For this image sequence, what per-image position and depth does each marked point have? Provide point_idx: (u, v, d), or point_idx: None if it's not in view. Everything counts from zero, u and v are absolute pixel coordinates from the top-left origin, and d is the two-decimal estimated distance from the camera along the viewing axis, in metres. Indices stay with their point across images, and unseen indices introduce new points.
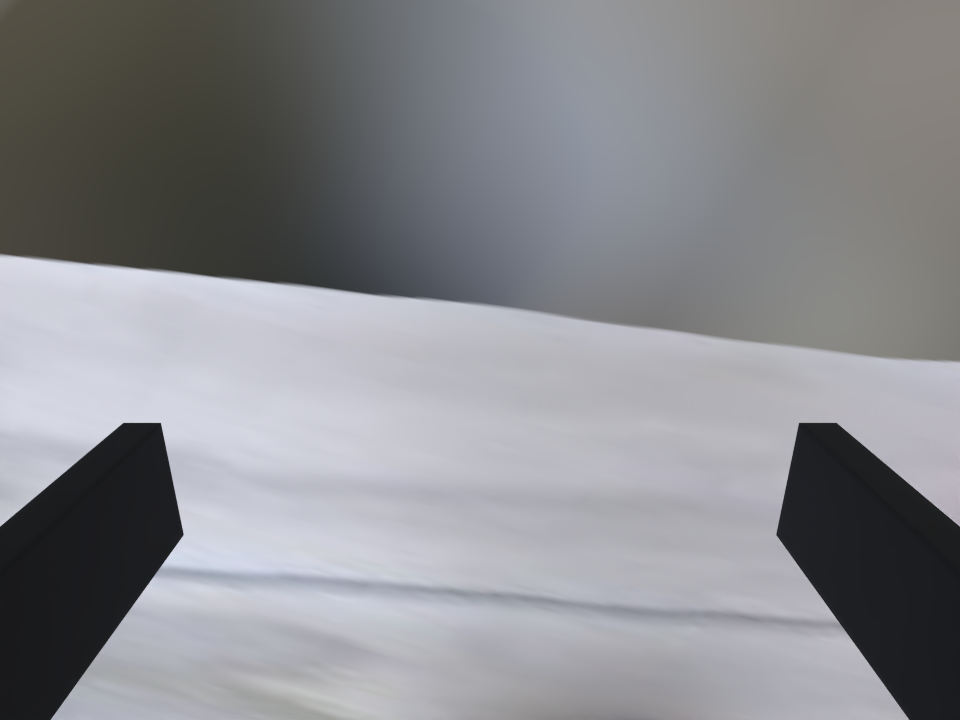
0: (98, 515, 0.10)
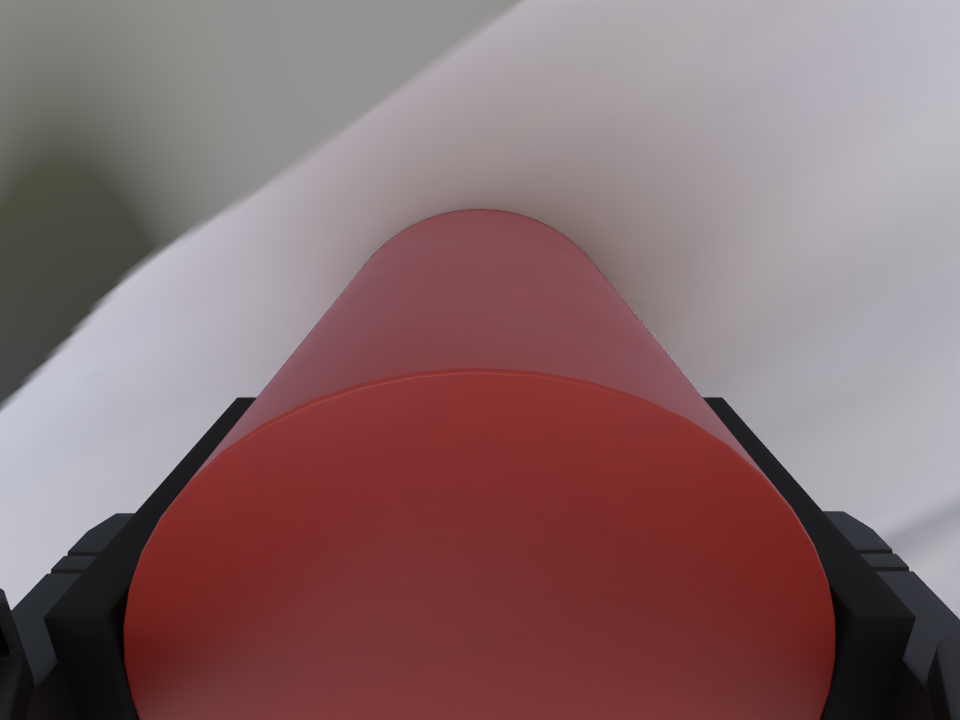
0: None
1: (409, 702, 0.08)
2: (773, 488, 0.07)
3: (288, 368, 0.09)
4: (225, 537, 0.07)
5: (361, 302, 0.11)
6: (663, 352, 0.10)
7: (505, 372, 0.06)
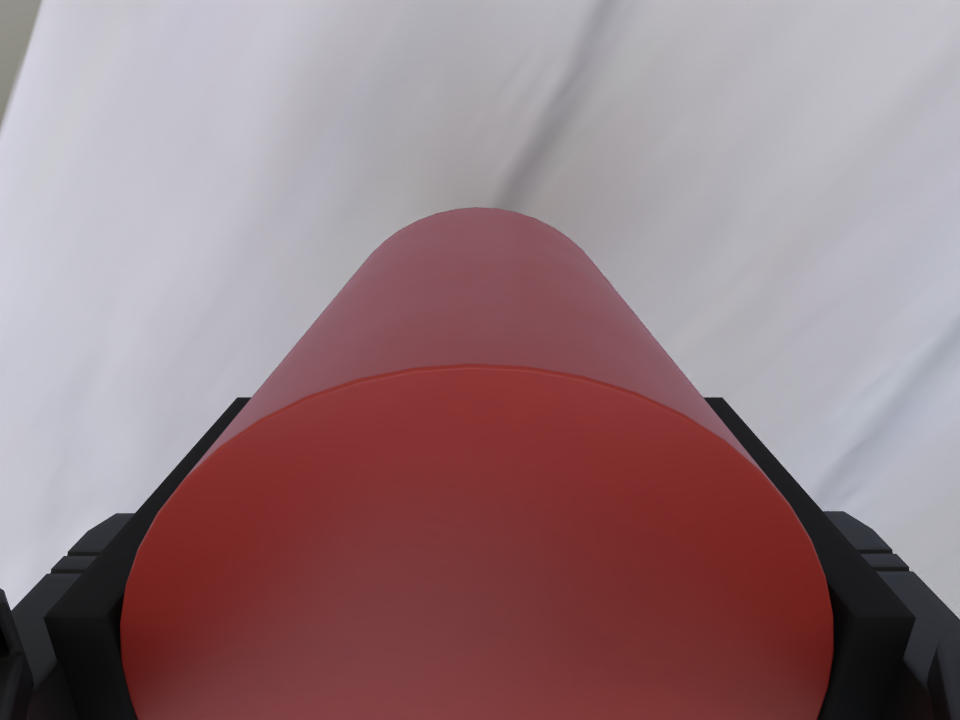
0: None
1: (406, 700, 0.08)
2: (770, 484, 0.07)
3: (285, 365, 0.09)
4: (221, 533, 0.07)
5: (359, 299, 0.11)
6: (661, 349, 0.10)
7: (502, 367, 0.06)
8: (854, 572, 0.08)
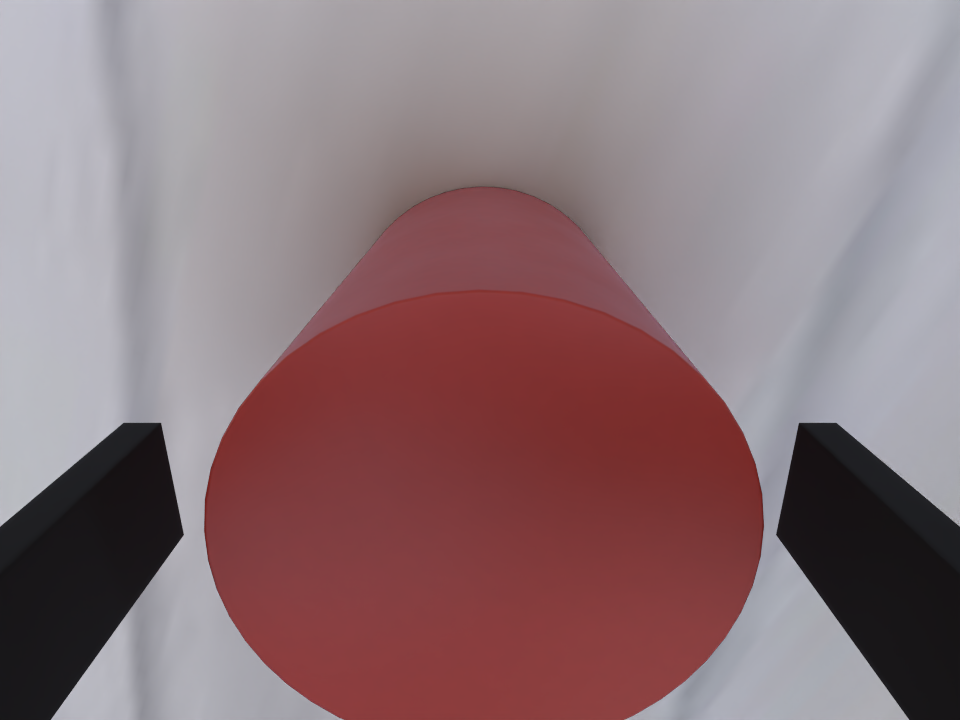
0: (98, 515, 0.10)
1: (427, 565, 0.10)
2: (709, 386, 0.09)
3: (328, 305, 0.11)
4: (287, 425, 0.09)
5: (384, 257, 0.13)
6: (636, 298, 0.13)
7: (503, 292, 0.09)
8: None
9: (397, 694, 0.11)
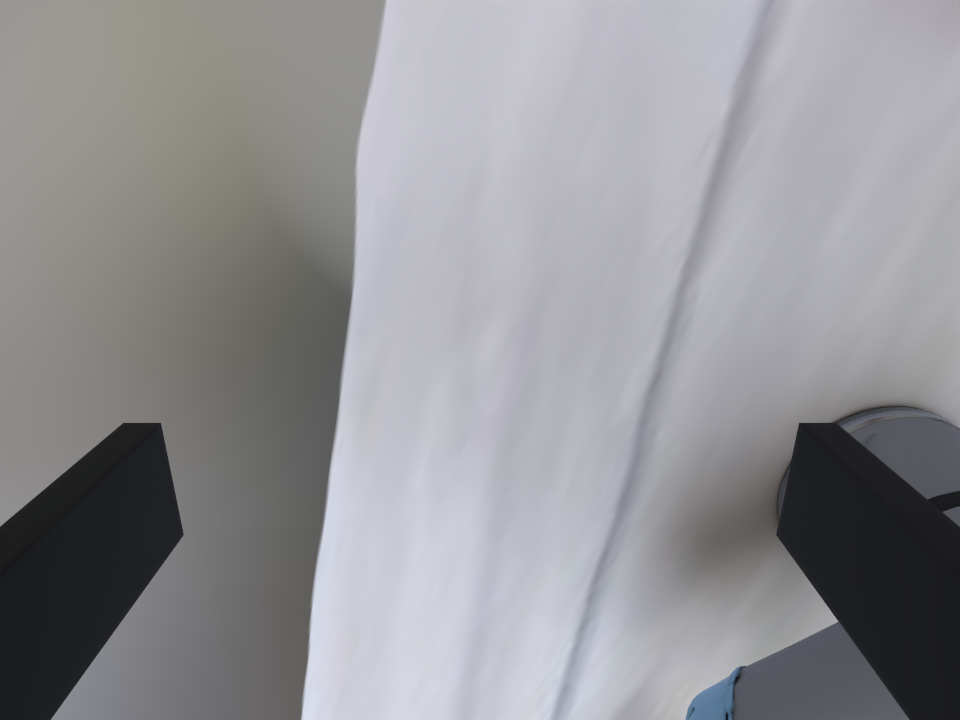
0: (98, 515, 0.10)
1: None
2: None
3: None
4: None
5: None
6: None
7: None
8: None
9: None
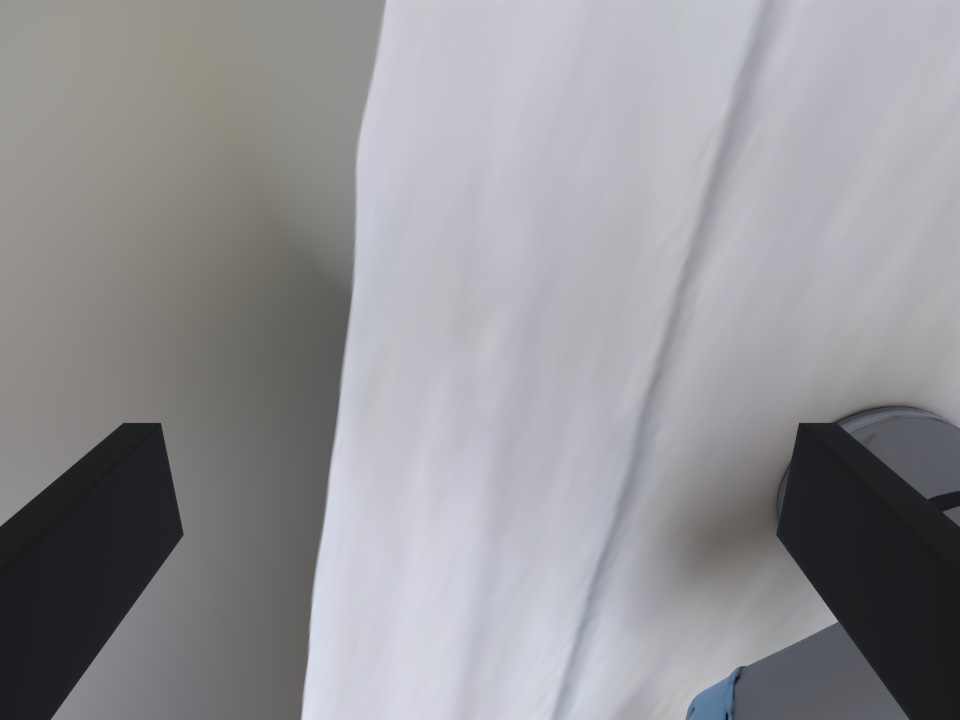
0: (98, 515, 0.10)
1: None
2: None
3: None
4: None
5: None
6: None
7: None
8: None
9: None
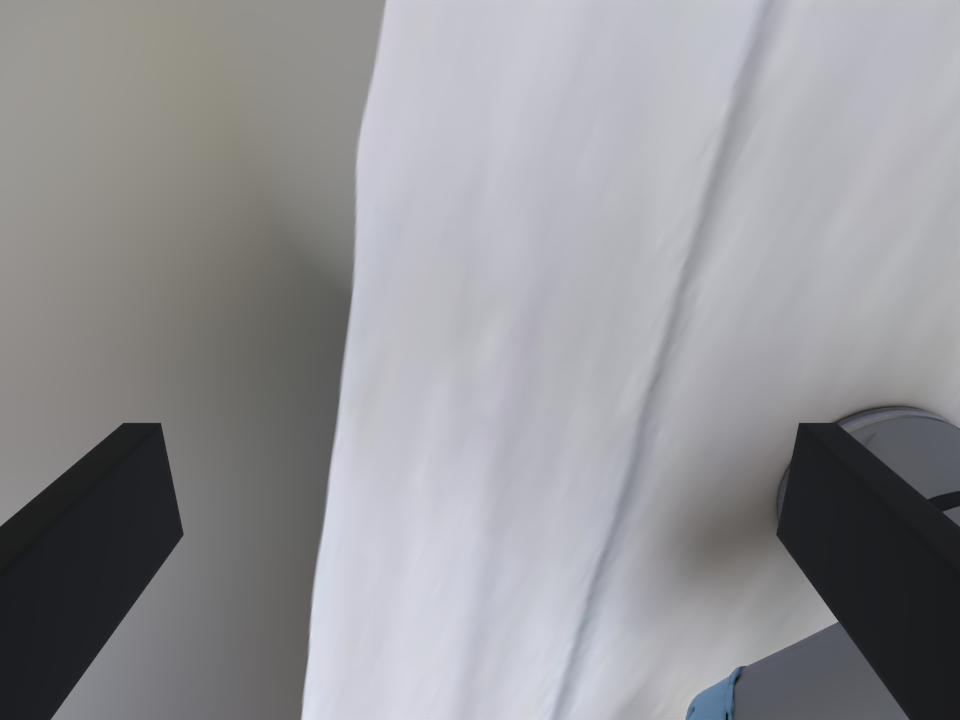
0: (98, 515, 0.10)
1: None
2: None
3: None
4: None
5: None
6: None
7: None
8: None
9: None
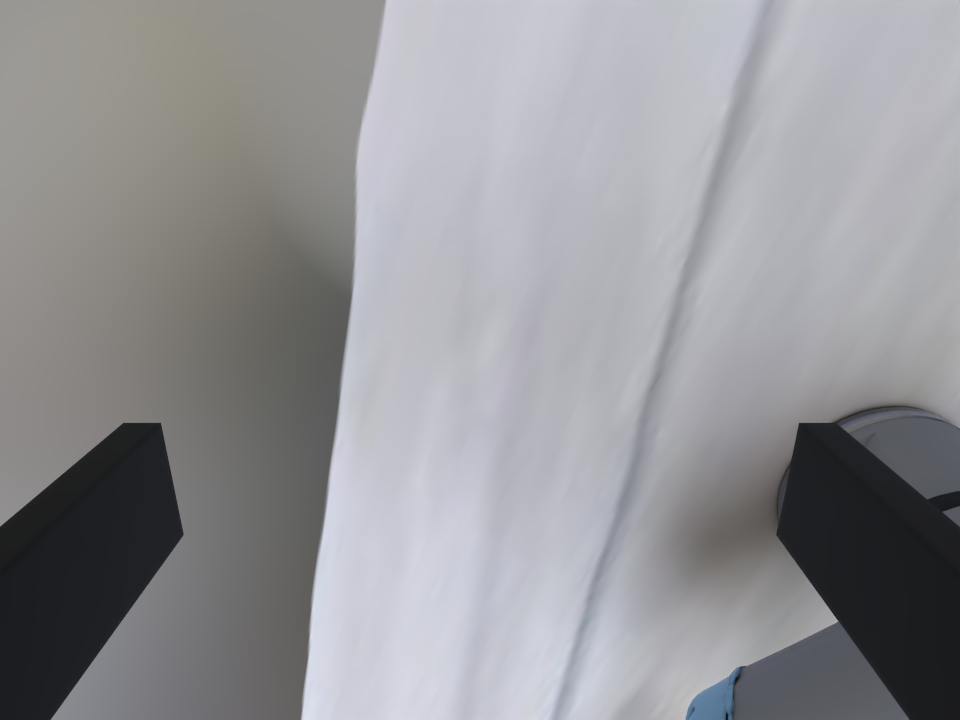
0: (98, 515, 0.10)
1: None
2: None
3: None
4: None
5: None
6: None
7: None
8: None
9: None
